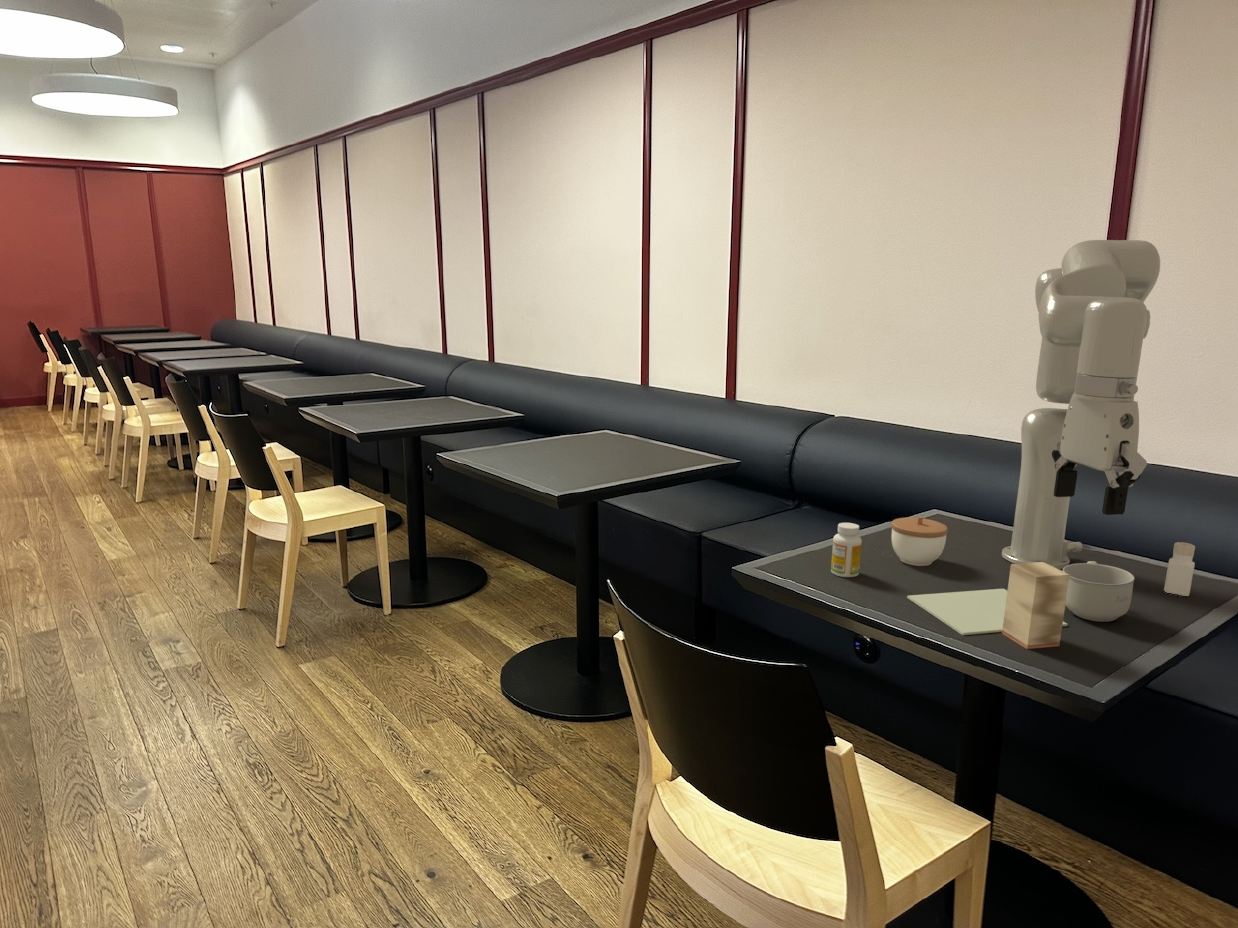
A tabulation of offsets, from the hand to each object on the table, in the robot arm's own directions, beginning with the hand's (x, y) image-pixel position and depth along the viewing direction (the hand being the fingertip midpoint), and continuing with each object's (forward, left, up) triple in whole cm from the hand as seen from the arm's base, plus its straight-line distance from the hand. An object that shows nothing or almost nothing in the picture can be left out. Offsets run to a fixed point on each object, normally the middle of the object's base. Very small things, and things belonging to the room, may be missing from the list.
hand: (1087, 504), depth 126 cm
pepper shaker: (-43, -21, -25) cm, 54 cm away
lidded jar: (-4, -46, -25) cm, 53 cm away
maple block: (-1, -8, -25) cm, 26 cm away
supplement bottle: (+14, -42, -25) cm, 51 cm away
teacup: (-20, -16, -25) cm, 36 cm away
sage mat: (-1, -20, -25) cm, 32 cm away
